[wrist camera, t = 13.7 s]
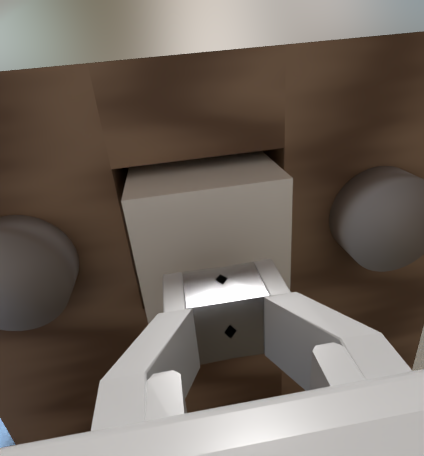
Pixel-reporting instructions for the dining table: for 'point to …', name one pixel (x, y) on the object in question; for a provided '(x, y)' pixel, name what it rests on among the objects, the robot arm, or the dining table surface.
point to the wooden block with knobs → (194, 149)
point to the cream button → (206, 217)
